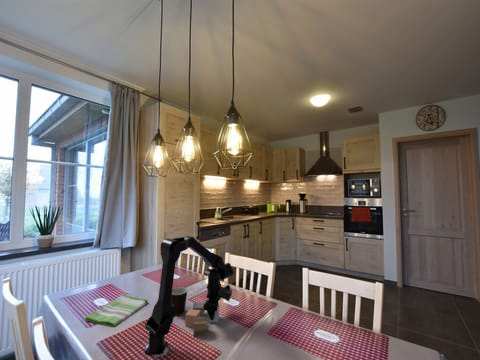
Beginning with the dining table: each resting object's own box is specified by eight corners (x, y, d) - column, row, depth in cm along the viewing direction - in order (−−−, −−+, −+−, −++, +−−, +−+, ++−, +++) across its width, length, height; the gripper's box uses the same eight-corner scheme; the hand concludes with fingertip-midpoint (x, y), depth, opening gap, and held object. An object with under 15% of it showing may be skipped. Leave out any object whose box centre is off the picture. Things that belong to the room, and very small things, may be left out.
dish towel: (148, 303, 121) (149, 296, 121) (114, 328, 98) (115, 320, 99) (121, 299, 125) (122, 292, 125) (83, 322, 103) (83, 314, 103)
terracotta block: (196, 327, 99) (196, 316, 99) (185, 326, 100) (185, 314, 100) (200, 321, 104) (200, 310, 104) (189, 320, 105) (190, 309, 105)
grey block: (203, 318, 107) (203, 307, 107) (192, 318, 106) (192, 307, 107) (204, 312, 112) (204, 302, 112) (193, 313, 111) (194, 302, 112)
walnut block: (205, 335, 94) (206, 323, 94) (193, 336, 93) (193, 324, 93) (205, 328, 99) (206, 316, 99) (194, 329, 98) (194, 317, 98)
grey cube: (217, 322, 103) (218, 311, 103) (206, 322, 103) (207, 310, 104) (219, 316, 108) (219, 305, 108) (208, 316, 108) (208, 305, 109)
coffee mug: (182, 317, 107) (182, 295, 107) (165, 315, 109) (165, 293, 109) (192, 305, 118) (192, 286, 119) (176, 303, 120) (177, 284, 120)
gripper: (229, 291, 97) (228, 329, 96) (232, 275, 116) (231, 307, 115) (203, 290, 97) (202, 328, 97) (210, 275, 116) (209, 306, 115)
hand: (213, 316), depth 106 cm, fingers closed on grey cube, 5 cm apart
